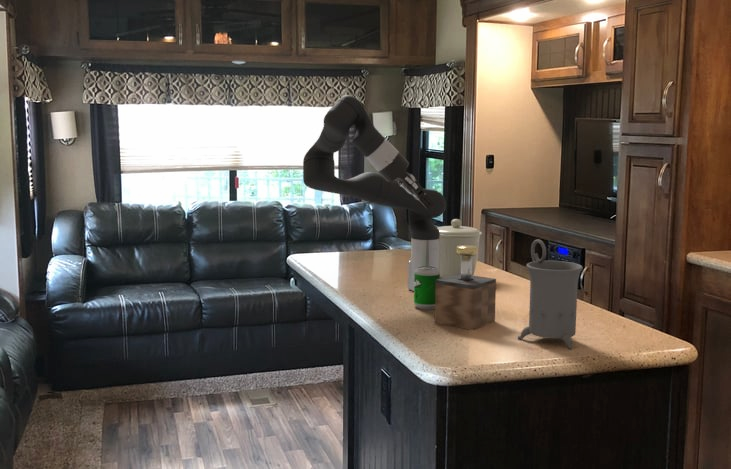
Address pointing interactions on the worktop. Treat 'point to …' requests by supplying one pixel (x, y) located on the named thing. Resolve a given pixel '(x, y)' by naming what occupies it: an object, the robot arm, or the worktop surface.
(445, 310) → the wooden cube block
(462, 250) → the brass round peg
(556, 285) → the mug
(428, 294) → the soda can
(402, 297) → the worktop surface
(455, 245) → the canister
